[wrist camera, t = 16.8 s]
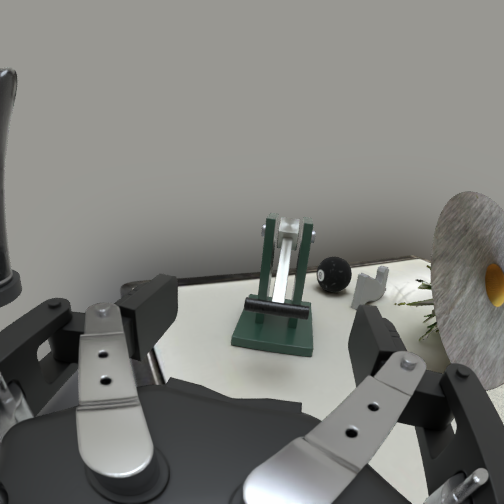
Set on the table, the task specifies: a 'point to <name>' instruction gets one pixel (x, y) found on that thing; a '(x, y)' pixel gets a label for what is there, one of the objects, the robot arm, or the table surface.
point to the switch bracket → (277, 327)
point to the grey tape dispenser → (370, 287)
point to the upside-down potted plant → (469, 285)
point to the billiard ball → (334, 274)
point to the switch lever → (281, 277)
